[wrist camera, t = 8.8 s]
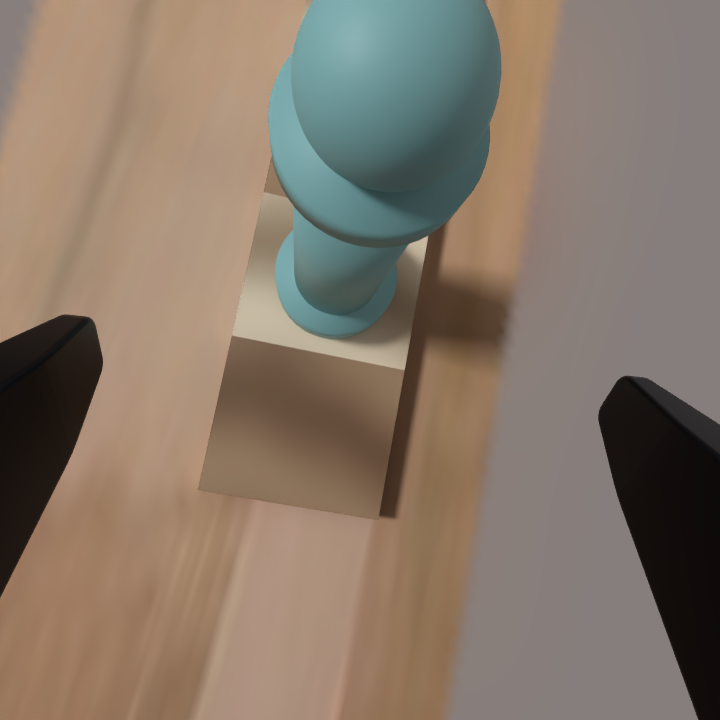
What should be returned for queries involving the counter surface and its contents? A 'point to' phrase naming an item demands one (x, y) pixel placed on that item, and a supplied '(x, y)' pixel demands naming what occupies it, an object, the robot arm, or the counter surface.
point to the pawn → (375, 146)
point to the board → (307, 389)
